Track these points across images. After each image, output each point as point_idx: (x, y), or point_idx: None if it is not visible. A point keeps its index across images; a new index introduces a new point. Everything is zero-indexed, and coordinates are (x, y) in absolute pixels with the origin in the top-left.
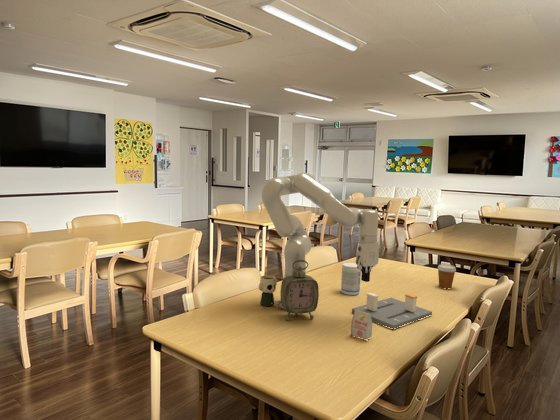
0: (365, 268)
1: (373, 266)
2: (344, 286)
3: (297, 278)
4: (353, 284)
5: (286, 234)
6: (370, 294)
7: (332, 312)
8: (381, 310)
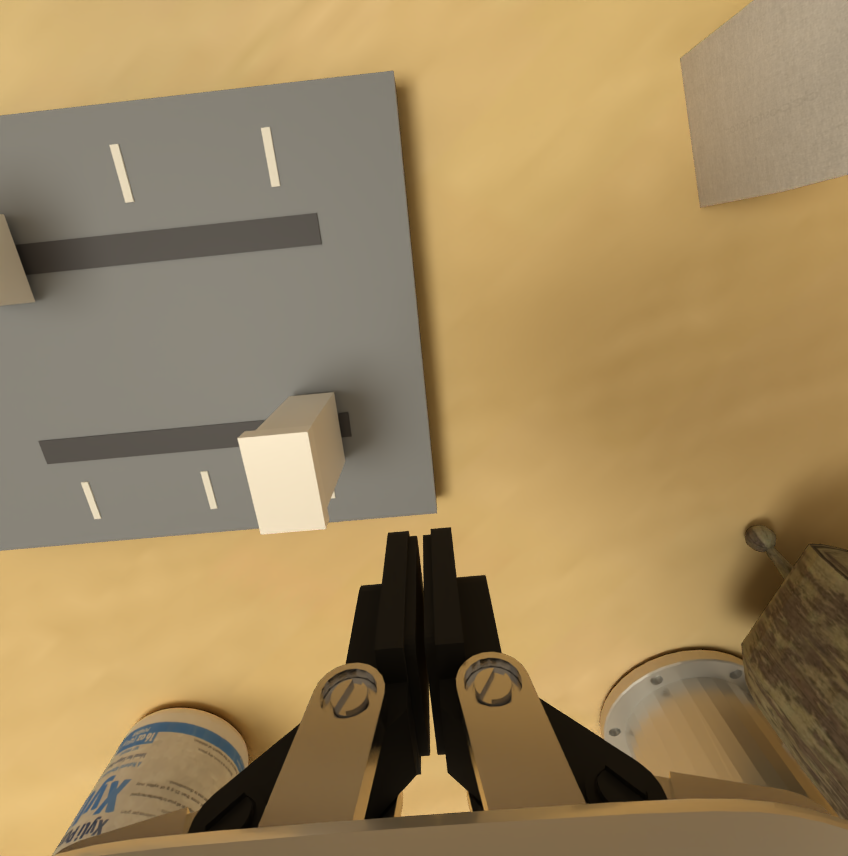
0: (568, 771)
1: (142, 827)
2: None
3: None
4: (171, 786)
5: None
6: (308, 491)
7: (546, 556)
8: (246, 386)
